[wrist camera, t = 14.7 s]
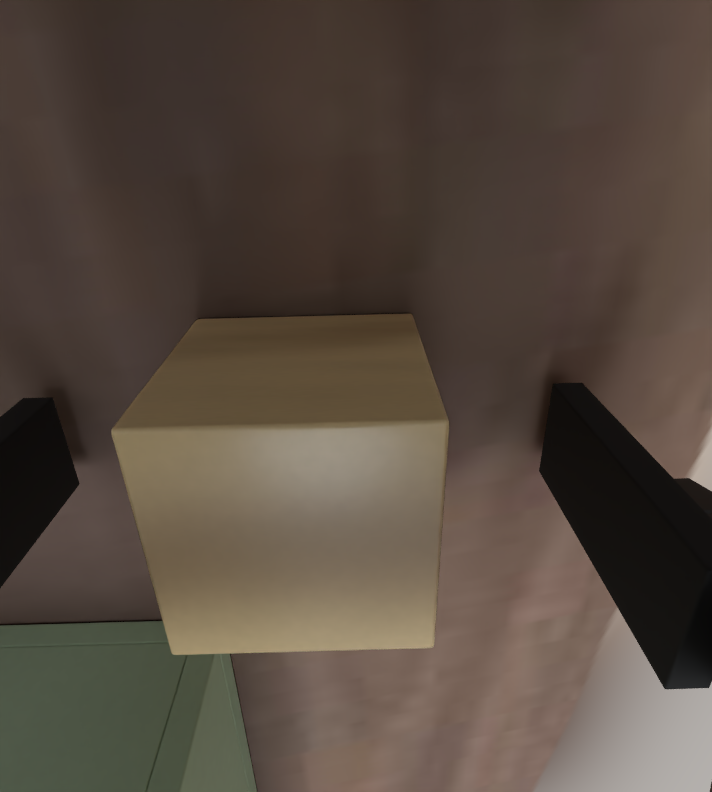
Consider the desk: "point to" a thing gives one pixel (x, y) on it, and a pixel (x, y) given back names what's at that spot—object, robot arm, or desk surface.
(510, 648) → the desk surface
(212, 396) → the block
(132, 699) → the bin
